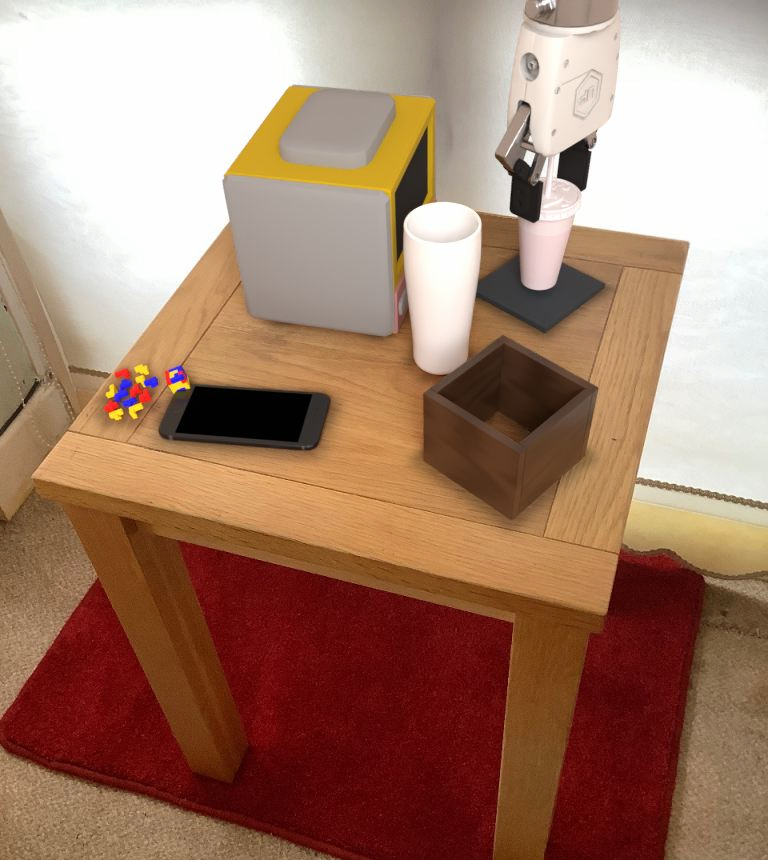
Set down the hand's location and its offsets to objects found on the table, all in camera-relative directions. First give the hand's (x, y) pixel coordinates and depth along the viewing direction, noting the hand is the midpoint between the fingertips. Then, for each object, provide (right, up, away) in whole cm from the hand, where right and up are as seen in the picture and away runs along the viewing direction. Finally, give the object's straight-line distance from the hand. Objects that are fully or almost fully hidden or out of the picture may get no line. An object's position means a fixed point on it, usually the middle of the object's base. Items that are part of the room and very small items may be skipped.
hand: (548, 199), depth 83 cm
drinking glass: (-10, -15, +2) cm, 18 cm away
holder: (-5, -25, -7) cm, 27 cm away
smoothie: (0, -6, +7) cm, 9 cm away
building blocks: (-39, -18, -2) cm, 42 cm away
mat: (0, -7, +8) cm, 10 cm away
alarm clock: (-19, -6, +10) cm, 23 cm away
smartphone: (-28, -21, -3) cm, 36 cm away
